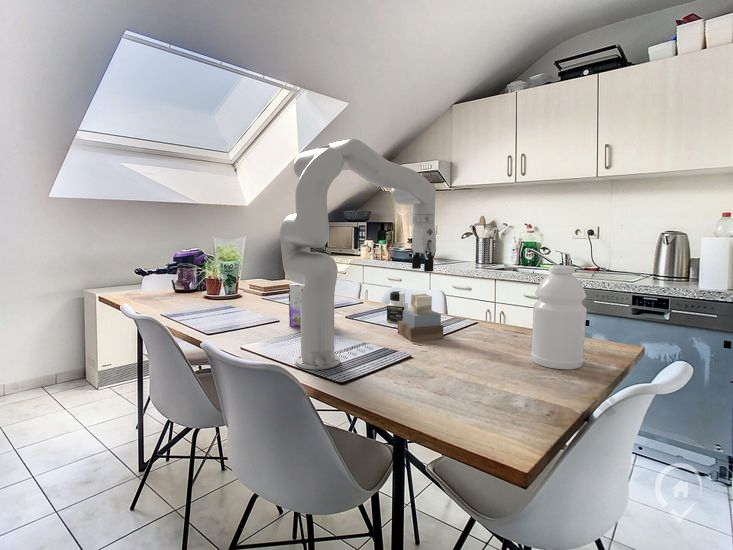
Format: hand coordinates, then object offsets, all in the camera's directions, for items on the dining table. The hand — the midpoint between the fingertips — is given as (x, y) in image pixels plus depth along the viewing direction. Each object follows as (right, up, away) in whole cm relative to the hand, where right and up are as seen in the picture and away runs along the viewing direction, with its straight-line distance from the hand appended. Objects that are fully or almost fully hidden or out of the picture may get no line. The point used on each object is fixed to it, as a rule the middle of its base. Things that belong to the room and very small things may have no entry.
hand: (422, 270), depth 154 cm
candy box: (-42, -22, +19) cm, 51 cm away
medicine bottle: (-7, -21, +27) cm, 35 cm away
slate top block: (0, -19, +3) cm, 19 cm away
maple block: (0, -15, +3) cm, 15 cm away
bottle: (+36, -27, -25) cm, 51 cm away
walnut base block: (0, -24, +4) cm, 24 cm away
